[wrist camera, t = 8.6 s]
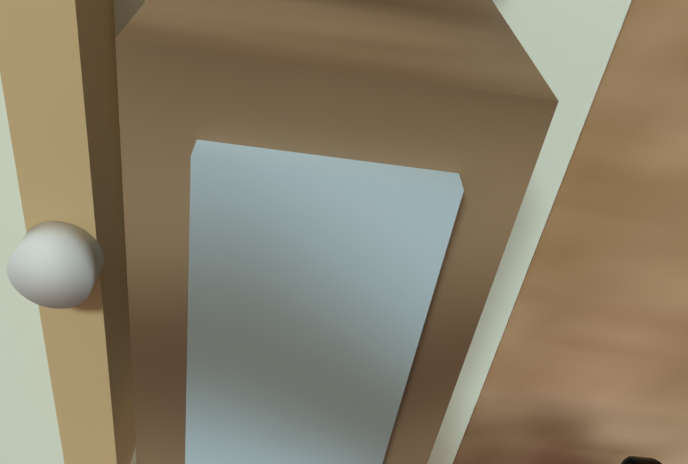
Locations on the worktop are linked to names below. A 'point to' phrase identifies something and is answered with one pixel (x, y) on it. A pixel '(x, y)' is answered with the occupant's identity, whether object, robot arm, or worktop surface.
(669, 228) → the worktop surface
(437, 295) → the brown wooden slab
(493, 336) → the wall board
